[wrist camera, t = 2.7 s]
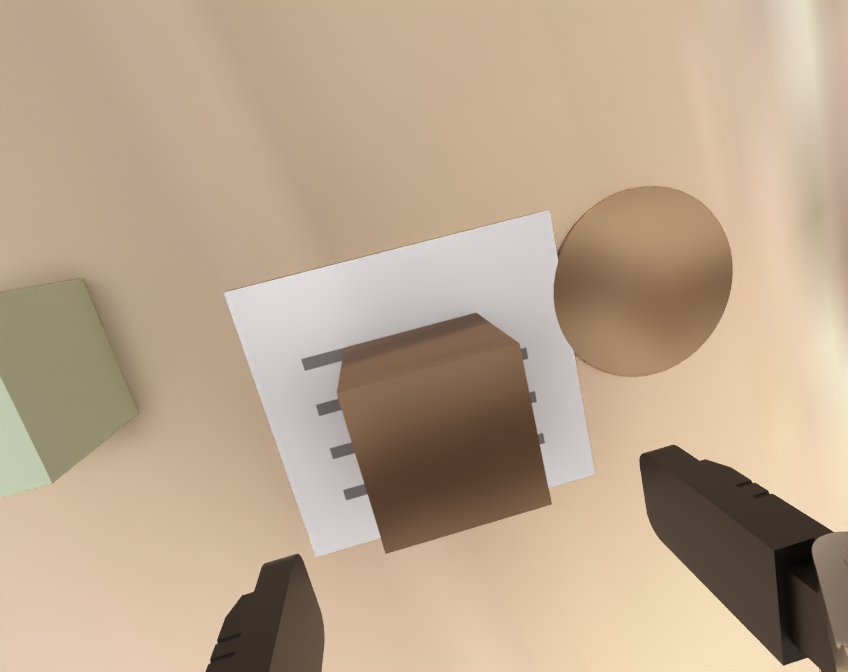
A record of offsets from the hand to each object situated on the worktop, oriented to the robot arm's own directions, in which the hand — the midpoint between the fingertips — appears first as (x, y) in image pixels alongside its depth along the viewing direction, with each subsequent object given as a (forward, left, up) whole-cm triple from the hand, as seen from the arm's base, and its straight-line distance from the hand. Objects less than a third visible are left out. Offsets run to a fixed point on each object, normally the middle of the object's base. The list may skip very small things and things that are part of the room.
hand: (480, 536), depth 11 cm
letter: (0, 0, -10) cm, 10 cm away
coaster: (-2, +10, -10) cm, 14 cm away
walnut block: (0, 0, -9) cm, 9 cm away
